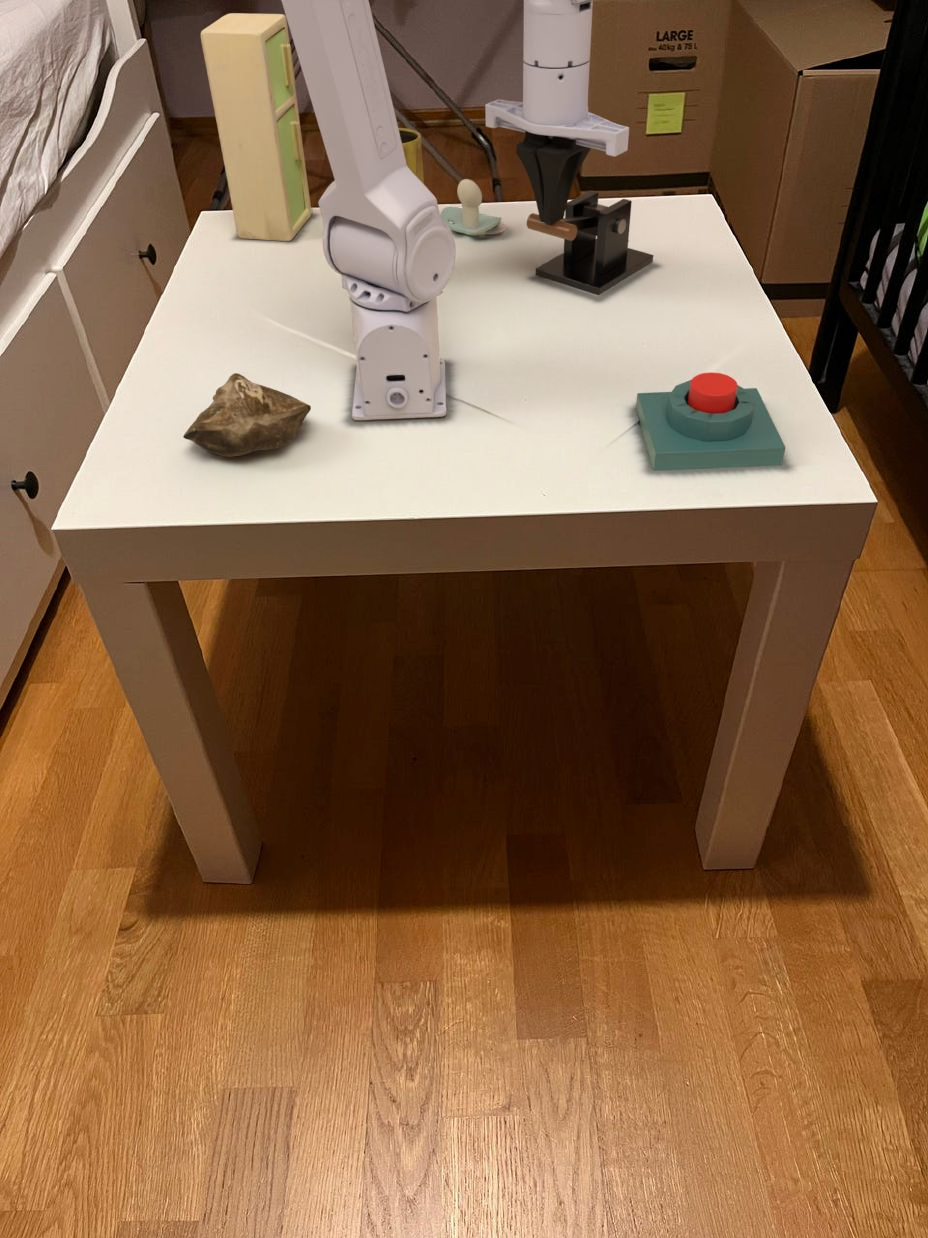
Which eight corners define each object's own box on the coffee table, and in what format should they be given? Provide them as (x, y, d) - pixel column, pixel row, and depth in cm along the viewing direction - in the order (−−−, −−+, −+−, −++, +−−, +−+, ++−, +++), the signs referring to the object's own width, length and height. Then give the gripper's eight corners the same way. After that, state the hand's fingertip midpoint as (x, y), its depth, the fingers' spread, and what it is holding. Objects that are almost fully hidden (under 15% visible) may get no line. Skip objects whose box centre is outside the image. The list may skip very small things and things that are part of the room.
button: (739, 414, 76) (742, 394, 75) (692, 416, 76) (695, 396, 75) (728, 390, 78) (731, 371, 77) (683, 392, 78) (686, 372, 77)
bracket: (598, 299, 98) (603, 226, 93) (535, 279, 102) (536, 208, 97) (652, 265, 103) (660, 195, 98) (590, 247, 107) (594, 178, 102)
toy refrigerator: (297, 242, 111) (266, 31, 96) (236, 239, 112) (197, 30, 98) (319, 215, 116) (292, 13, 102) (261, 212, 118) (226, 12, 103)
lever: (566, 246, 92) (570, 220, 91) (524, 234, 95) (528, 208, 93) (623, 236, 99) (628, 211, 98) (582, 225, 102) (587, 200, 100)
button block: (781, 466, 76) (790, 427, 74) (653, 471, 76) (658, 432, 74) (753, 405, 82) (760, 368, 80) (635, 410, 82) (639, 373, 80)
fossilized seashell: (177, 454, 75) (308, 462, 77) (178, 366, 74) (311, 376, 76) (189, 451, 83) (309, 459, 84) (190, 371, 81) (311, 380, 83)
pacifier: (464, 218, 115) (434, 234, 111) (463, 162, 111) (432, 176, 107) (517, 231, 112) (488, 247, 108) (518, 173, 107) (488, 189, 104)
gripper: (654, 61, 82) (639, 223, 91) (518, 38, 89) (518, 190, 99) (606, 81, 78) (596, 248, 88) (469, 55, 85) (473, 212, 95)
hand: (551, 219), depth 93 cm, fingers closed
